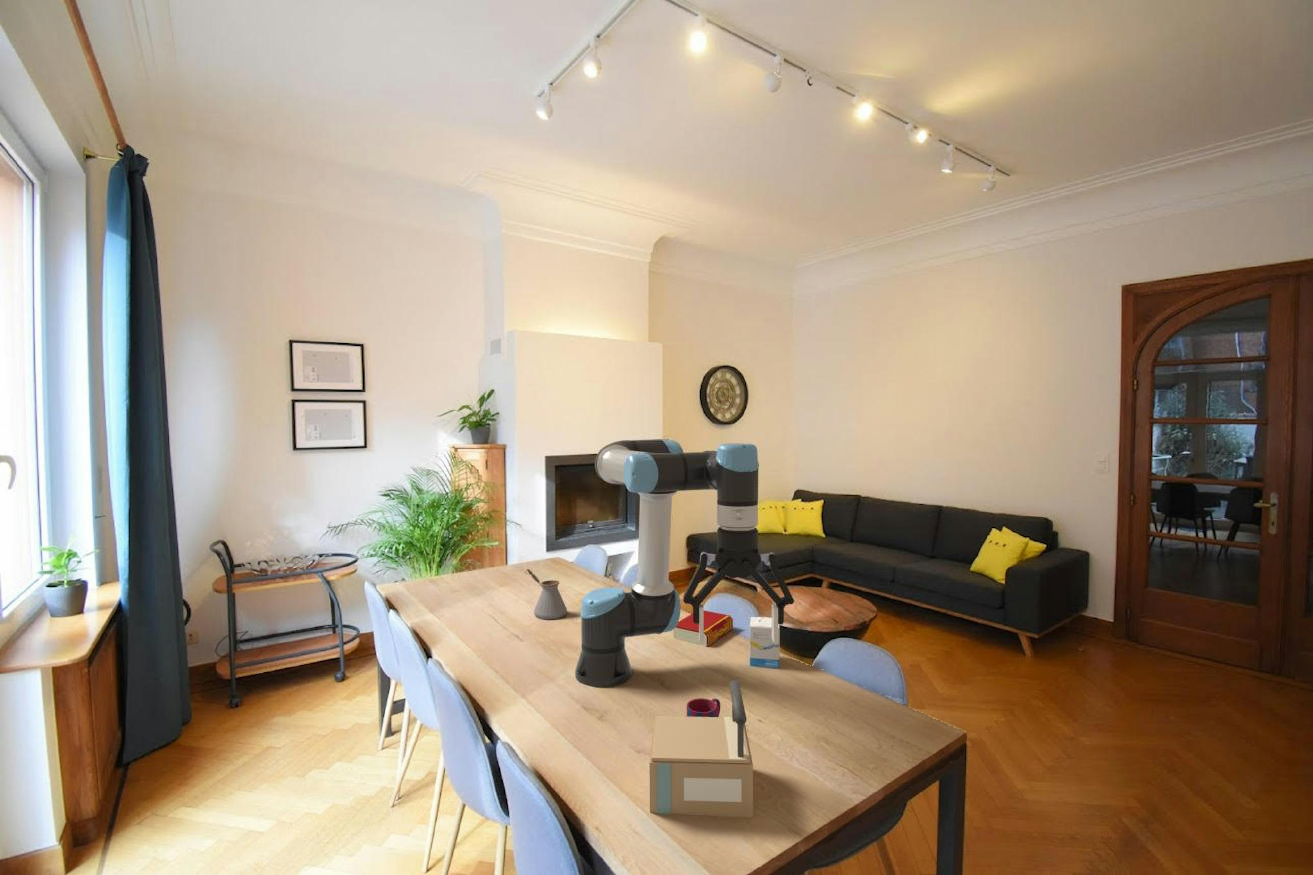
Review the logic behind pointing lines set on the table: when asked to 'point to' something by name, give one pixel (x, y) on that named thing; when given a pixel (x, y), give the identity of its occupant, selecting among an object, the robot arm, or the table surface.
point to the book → (713, 628)
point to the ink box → (763, 643)
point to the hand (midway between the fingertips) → (738, 640)
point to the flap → (703, 736)
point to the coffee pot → (549, 600)
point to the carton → (702, 787)
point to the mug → (703, 708)
